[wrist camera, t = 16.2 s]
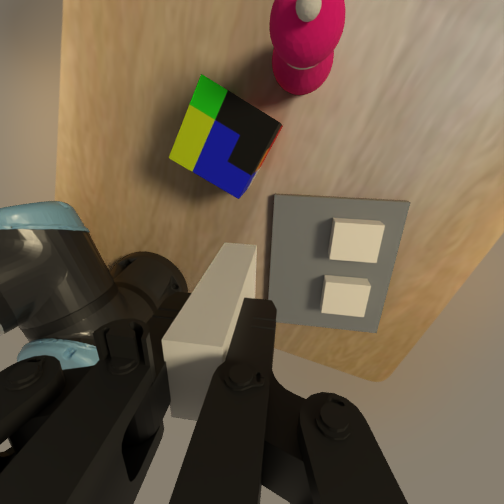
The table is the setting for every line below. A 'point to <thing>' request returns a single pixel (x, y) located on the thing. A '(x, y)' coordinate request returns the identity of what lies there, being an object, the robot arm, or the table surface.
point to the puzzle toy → (224, 138)
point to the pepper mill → (304, 41)
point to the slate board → (317, 260)
